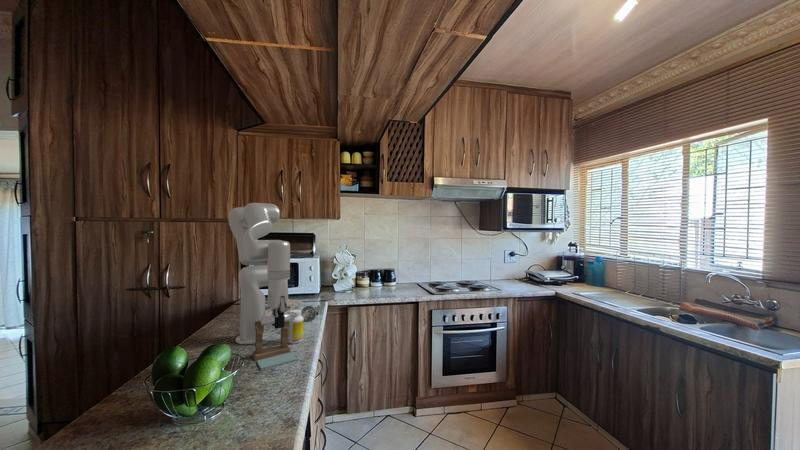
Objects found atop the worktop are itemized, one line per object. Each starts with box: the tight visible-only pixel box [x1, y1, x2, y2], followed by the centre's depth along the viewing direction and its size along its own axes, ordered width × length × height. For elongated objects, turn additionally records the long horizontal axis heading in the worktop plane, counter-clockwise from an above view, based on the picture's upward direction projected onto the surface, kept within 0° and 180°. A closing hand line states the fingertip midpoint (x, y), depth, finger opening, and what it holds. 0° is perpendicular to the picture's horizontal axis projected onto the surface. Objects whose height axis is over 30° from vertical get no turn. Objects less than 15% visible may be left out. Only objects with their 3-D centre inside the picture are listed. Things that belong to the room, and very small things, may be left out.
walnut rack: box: [252, 321, 291, 362], centre depth 109 cm, size 6×12×12 cm, turn 128°
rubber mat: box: [256, 351, 298, 371], centre depth 102 cm, size 7×12×1 cm, turn 128°
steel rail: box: [261, 312, 295, 327], centre depth 102 cm, size 11×3×3 cm, turn 128°
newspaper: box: [265, 298, 303, 316], centre depth 165 cm, size 35×12×4 cm, turn 176°
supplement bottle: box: [287, 308, 304, 345], centre depth 121 cm, size 7×7×13 cm
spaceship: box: [301, 304, 322, 322], centre depth 147 cm, size 8×35×8 cm
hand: (278, 326), depth 102 cm, fingers closed on steel rail, 3 cm apart
